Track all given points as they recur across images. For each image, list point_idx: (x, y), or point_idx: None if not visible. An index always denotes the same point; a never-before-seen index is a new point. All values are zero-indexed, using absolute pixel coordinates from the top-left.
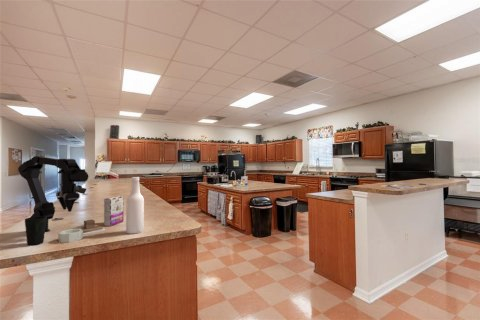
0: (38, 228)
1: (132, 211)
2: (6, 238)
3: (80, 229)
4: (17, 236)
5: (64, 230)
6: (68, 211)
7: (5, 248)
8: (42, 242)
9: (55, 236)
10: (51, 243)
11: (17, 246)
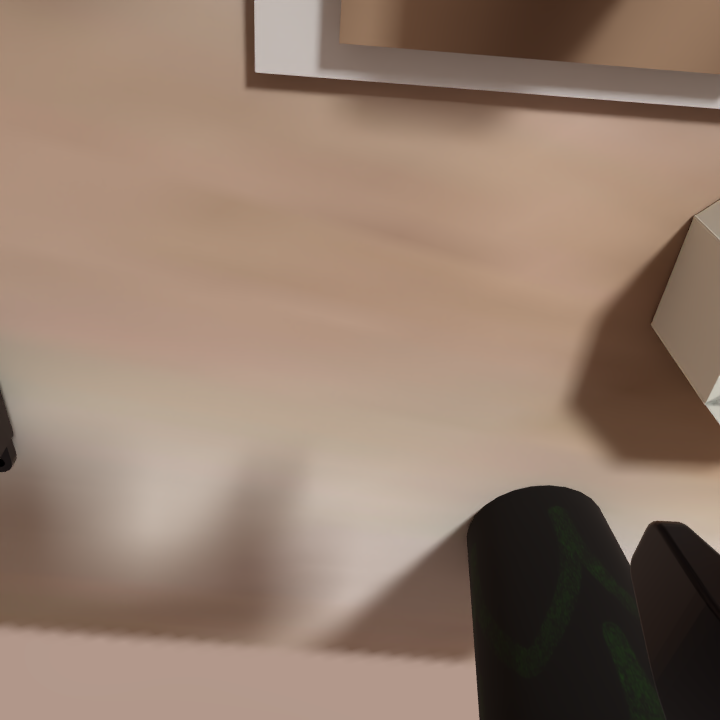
0: None
1: None
2: (32, 621)
3: None
4: (11, 567)
5: (715, 398)
6: (638, 577)
7: (439, 657)
8: (596, 505)
9: (409, 351)
10: (703, 453)
11: (467, 613)
